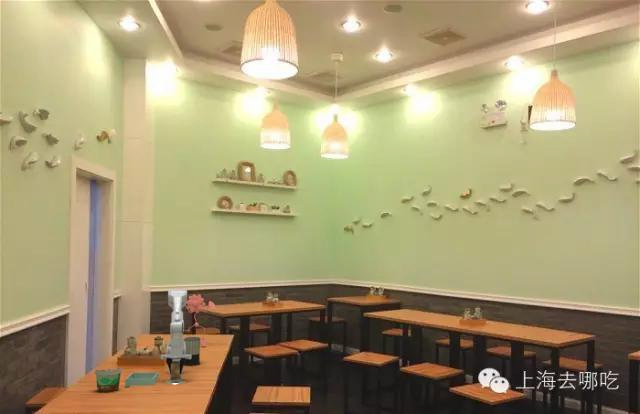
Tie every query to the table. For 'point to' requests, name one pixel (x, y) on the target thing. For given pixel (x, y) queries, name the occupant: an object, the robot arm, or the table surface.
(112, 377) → the food container
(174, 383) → the steel base plate
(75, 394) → the table surface
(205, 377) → the table surface
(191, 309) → the pink flower branch
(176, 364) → the brown wooden block
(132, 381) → the teal bin
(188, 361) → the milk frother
